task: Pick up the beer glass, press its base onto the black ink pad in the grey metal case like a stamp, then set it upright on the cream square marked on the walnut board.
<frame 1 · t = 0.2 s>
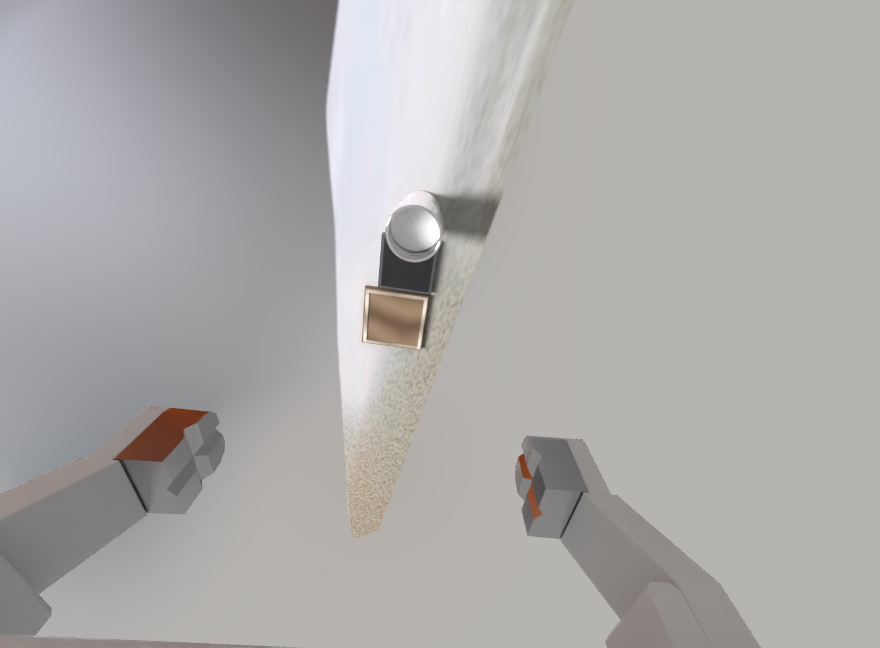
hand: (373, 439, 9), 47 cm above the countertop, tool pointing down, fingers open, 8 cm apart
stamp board: (395, 318, 60), on the countertop
ink pad: (408, 263, 55), on the countertop
beer glass: (420, 211, 51), on the countertop
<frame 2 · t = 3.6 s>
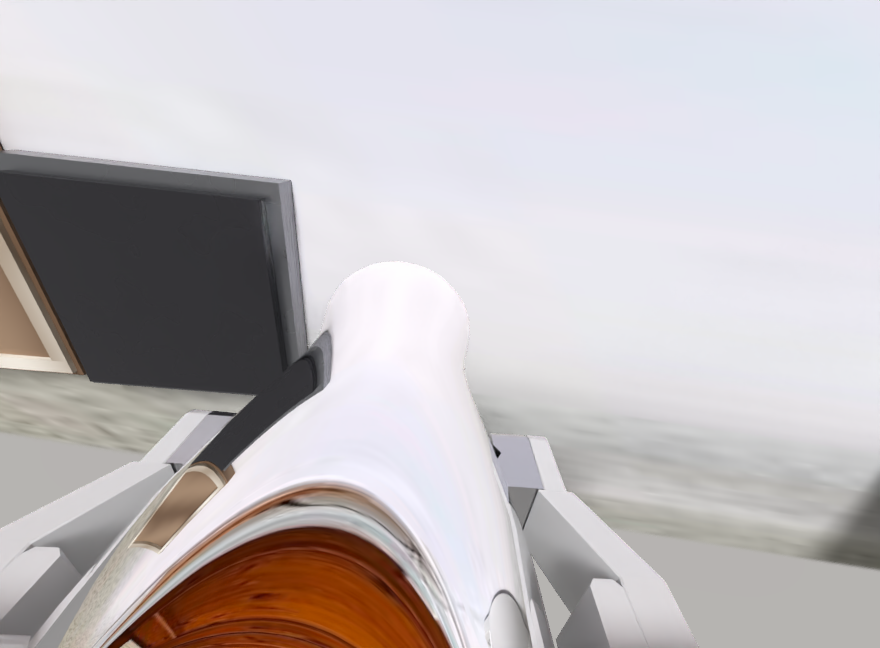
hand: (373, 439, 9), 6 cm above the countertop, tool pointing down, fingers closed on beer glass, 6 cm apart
ink pad: (189, 287, 13), on the countertop
beer glass: (399, 326, 15), on the countertop, touching gripper
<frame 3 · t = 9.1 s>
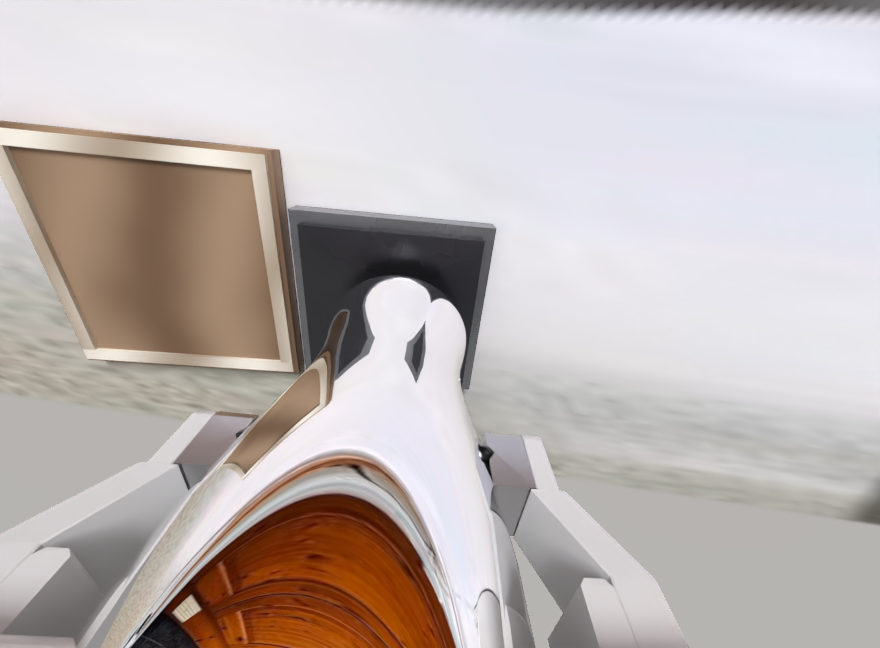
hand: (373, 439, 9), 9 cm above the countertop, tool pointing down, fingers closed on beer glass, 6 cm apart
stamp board: (178, 264, 16), on the countertop
ink pad: (393, 303, 17), on the countertop
beer glass: (398, 335, 15), point 3 cm above the countertop, touching gripper
when the fingers open (8 cm above the countertop, at t = 13.9 s): beer glass moves 3 cm, resting on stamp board.
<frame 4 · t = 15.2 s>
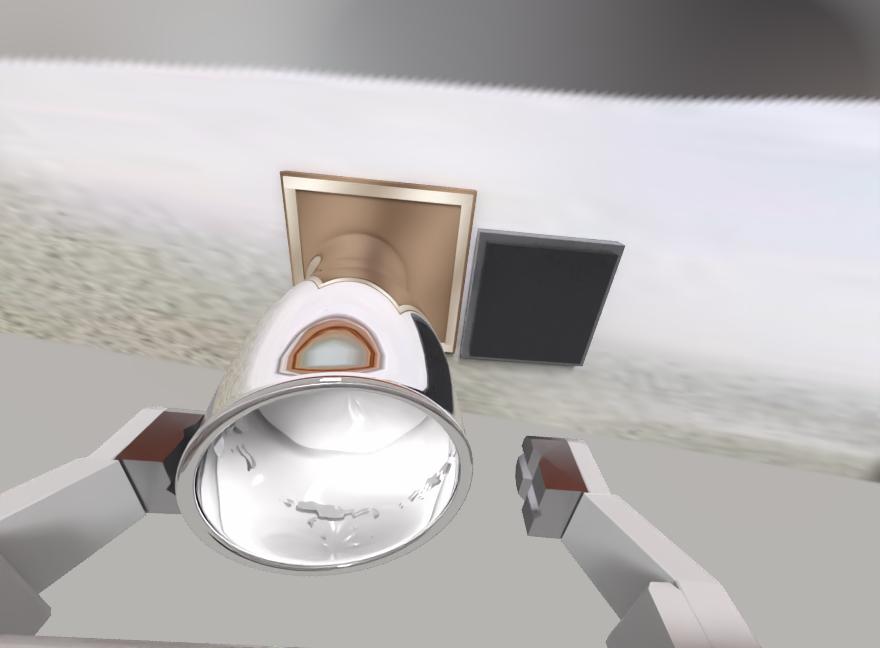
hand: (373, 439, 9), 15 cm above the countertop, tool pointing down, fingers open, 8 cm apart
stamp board: (380, 270, 22), on the countertop
ink pad: (532, 300, 23), on the countertop
beer glass: (358, 280, 21), point 1 cm above the countertop, touching gripper, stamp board
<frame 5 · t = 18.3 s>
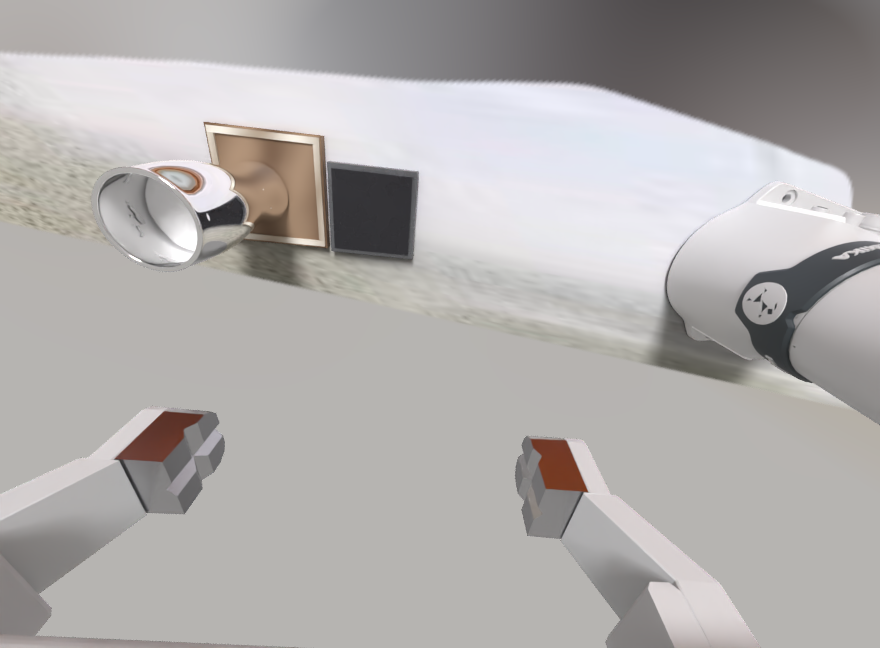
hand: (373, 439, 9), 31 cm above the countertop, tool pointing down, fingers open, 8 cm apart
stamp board: (274, 189, 35), on the countertop
ink pad: (374, 212, 36), on the countertop
beer glass: (259, 192, 35), point 1 cm above the countertop, touching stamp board
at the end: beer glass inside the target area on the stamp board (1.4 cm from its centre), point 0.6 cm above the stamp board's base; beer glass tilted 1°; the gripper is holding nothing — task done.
